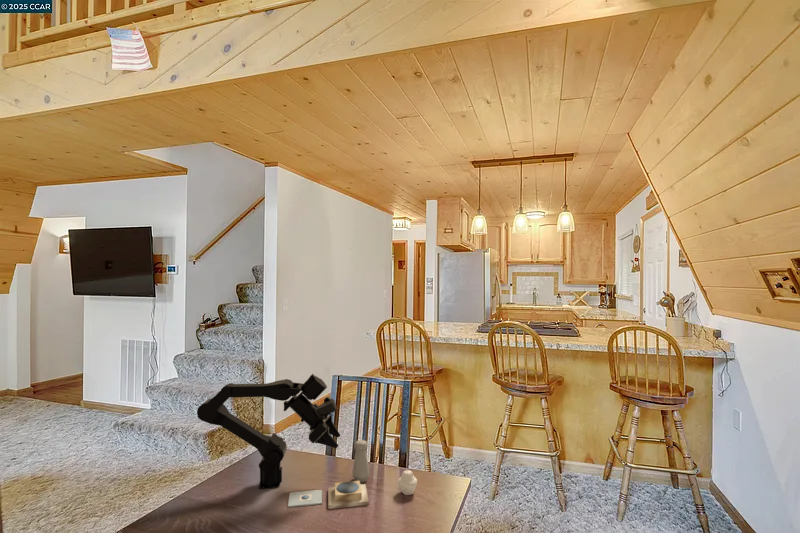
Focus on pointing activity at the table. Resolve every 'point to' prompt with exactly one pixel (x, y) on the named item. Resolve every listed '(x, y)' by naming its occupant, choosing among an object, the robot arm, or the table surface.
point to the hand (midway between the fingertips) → (338, 441)
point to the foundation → (347, 495)
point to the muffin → (407, 482)
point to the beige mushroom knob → (360, 462)
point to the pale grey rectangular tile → (305, 498)
